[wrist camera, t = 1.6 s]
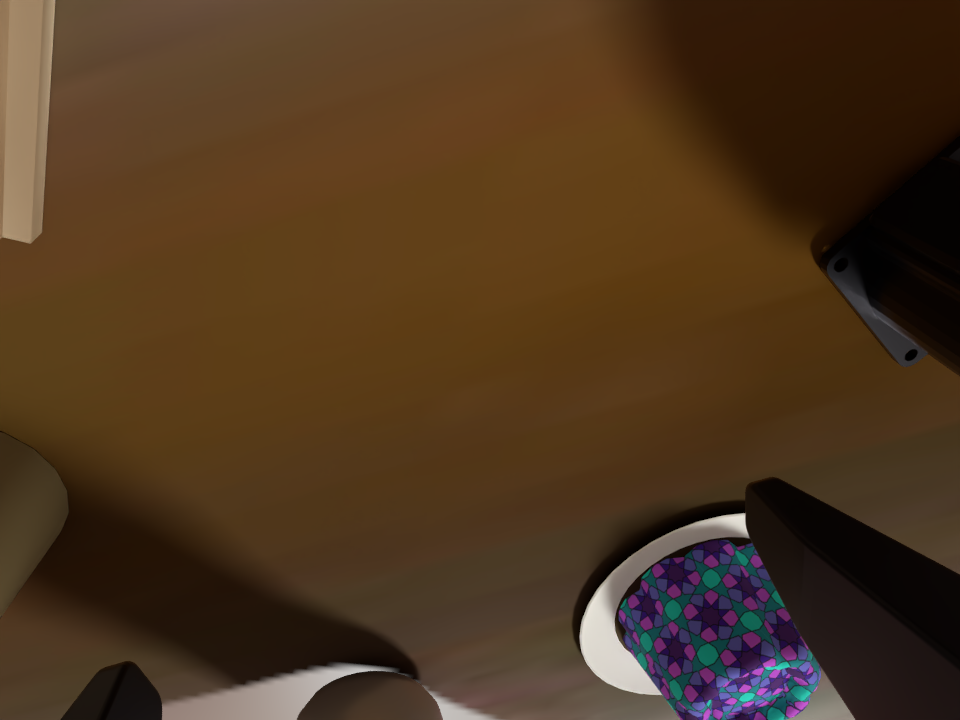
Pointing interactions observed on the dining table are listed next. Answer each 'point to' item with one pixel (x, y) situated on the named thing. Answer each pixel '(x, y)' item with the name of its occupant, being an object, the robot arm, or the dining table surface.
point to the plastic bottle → (372, 699)
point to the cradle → (24, 114)
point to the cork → (26, 514)
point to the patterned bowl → (701, 629)
